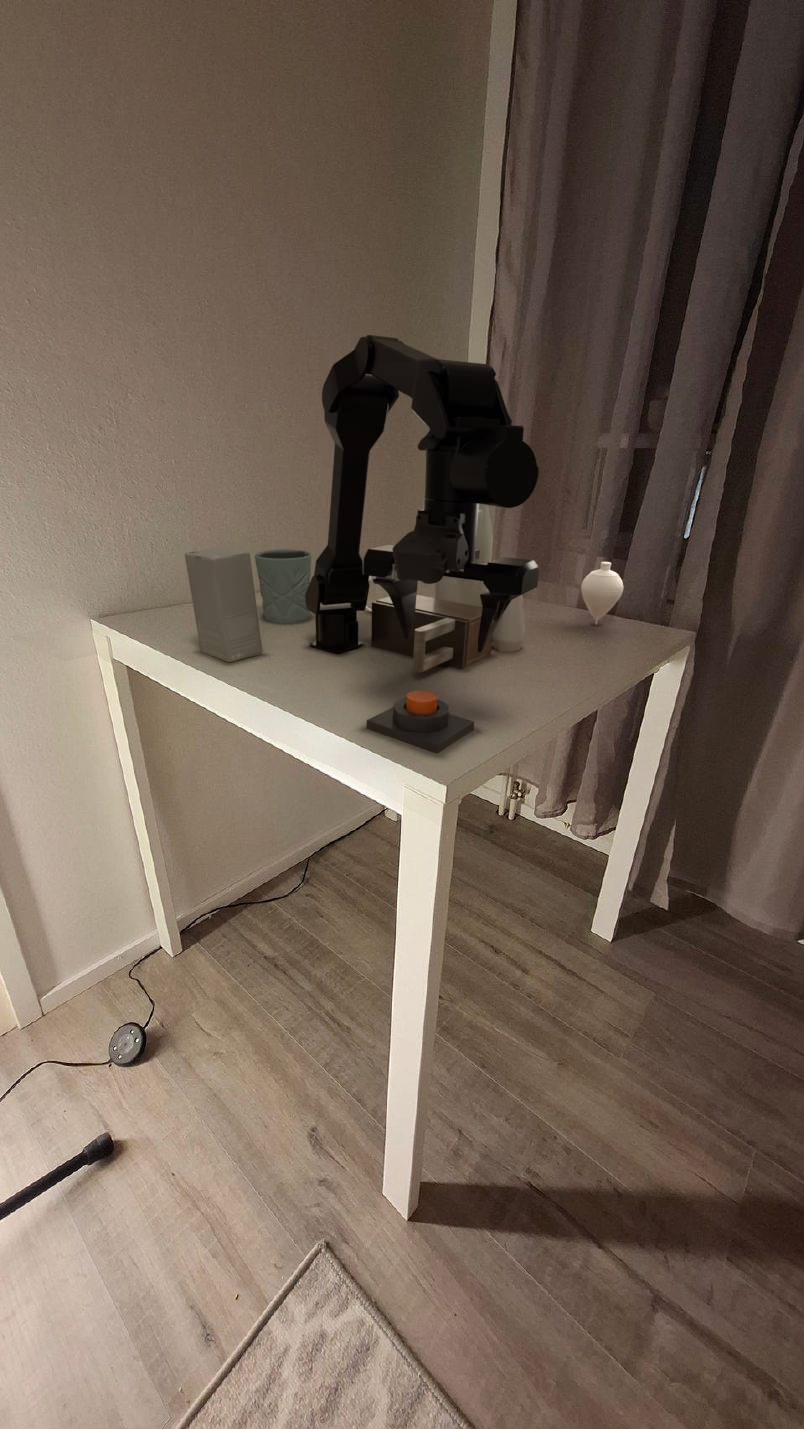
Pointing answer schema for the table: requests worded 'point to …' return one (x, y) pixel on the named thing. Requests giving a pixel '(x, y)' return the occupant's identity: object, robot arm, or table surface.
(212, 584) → the cosmetic box
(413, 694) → the release button
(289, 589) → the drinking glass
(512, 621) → the salt shaker
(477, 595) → the glass bottle
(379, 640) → the door
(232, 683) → the table surface
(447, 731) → the button block
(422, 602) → the cabinet
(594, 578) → the spinning top
